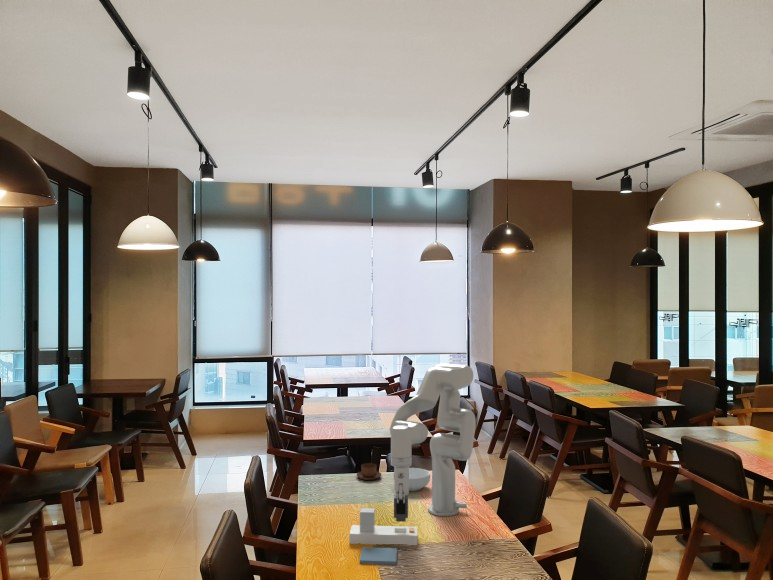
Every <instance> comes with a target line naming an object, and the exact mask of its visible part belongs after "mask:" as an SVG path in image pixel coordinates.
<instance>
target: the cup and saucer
mask: <svg viewBox="0 0 773 580" xmlns="http://www.w3.org/2000/svg"><path fill="white" fill-rule="evenodd" d="M377 467H378V466H377V464H375V463H371V462H368V463H366V462H365V463H363V464H361V467H360V468H361V471H358V472H356V477H357V478H359V479H360V480H365V481H372V480H373V481H374V480H377V479H379V478H380V477H382V473H381V472H380V471H377Z"/></svg>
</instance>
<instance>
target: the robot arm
mask: <svg viewBox="0 0 773 580" xmlns="http://www.w3.org/2000/svg"><path fill="white" fill-rule="evenodd" d="M473 381H474V371H473V369H472V368H471V367H470V366H469V365H463V364H454V363H453V364H452V363H451V364H450V363H438V364H436V365H434V367H433V366H432V367H430V368H429V369H427V370H426V372H425V374H424V377H423V378H422V381H421V383H420V385H419V387H418V389H417V392H416V394H415V396H413V397H412V398H410V399H408V400H407V401H406V402H405V403H403V404H402V405H401V406H400V407H399V408H398V409H397V410H396V412H395V414H394V417H393V418H392V421H391V424H390V427H389V434H390V466H392V467H394V468H393V480H394V482H393V483H394V494H396V495H397V502H396V513H397V514H405V495H408V496H409V494H410V491H409V468H410V467H411V466H412V465H413V464H412V463H413V462H412V460H413V458H412V457H413V456H412V449H413V446H412V445H417V444H422V443H423V442H425V441H426V439H427V438H428V435H429V429H428V427H427V425H426V424H424V423H422V422H418V421H411V420H409V418H411V417H412V416H414V415H416V414H419V413H422V412H426V411H429V410H432V409H433V408H434V407H436V405H437V402H438V400H439V404H438V411H437V418H436V419H437V420H436V423H437V426H438V428H439V429H441V430H444V431H450V432H456V433H459V434H460V435H458V434H452V433H445V432H438V433H435V434H433V435H432V436H431V438H430V441H429V450H430V454H431V467H432V468H431V469H432V470H431V475H432V476H431V504H430V505H428V507H427V511H428V512H429V513H430V514H432V515H434V516H438V517H452V516H456V515H457V514H459V513H460V508H461V509H467V508H468V506H467V503H465V502H464V501H457V499H456V465H455V463H454V460H456V461H464V462H465V461H469V459H470V458H471V456H472V454H473V448H474V441H475V440H474V439H475V432H476V423H477V422H476V415H475V413H474V412H473V410H470V409H467V408H461V407H460V405H461V398H462V397H461V394H460V391H459V390H461V389H464V388H467V387H469V386H470V385H471V384H472V383H473ZM402 496H403V497H402Z"/></svg>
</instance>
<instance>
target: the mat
mask: <svg viewBox="0 0 773 580" xmlns="http://www.w3.org/2000/svg"><path fill="white" fill-rule="evenodd" d="M360 552H361V553H360V557H359V564H361V565H362V564H363V565H364V564H366V565H368V564H369V565H370V564H371V565H394V564H396V565H397V558H398V557H397V555H398V554H397V553H398V548H397V547H395V548H394V547H369V546H368V547H365V546H362V547H361V551H360Z"/></svg>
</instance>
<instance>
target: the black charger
mask: <svg viewBox="0 0 773 580" xmlns="http://www.w3.org/2000/svg"><path fill="white" fill-rule="evenodd" d="M402 497H403V496H402ZM396 502H397V495H396V494H395V493H394V495H393V518H394V519H395V521H396V522H399V523H400V522H403V523H404V522H405V523H406V521H407V520H406V519H409V494H408V495H407V494H405V514H397V513H396Z"/></svg>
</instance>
